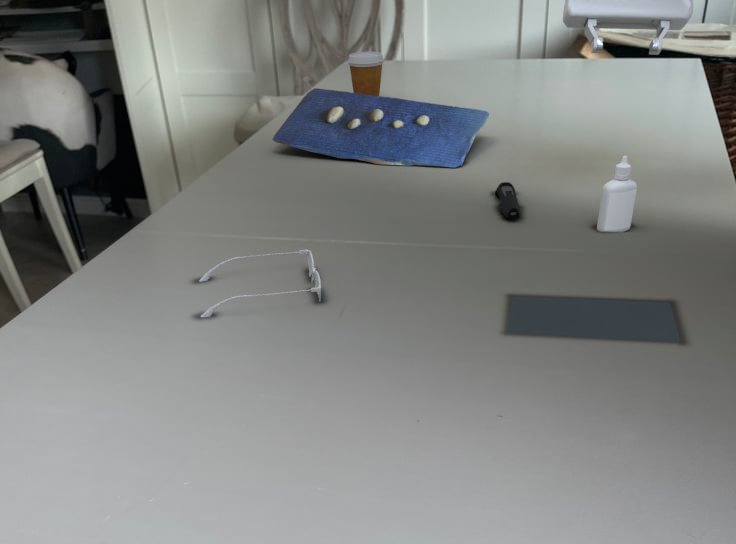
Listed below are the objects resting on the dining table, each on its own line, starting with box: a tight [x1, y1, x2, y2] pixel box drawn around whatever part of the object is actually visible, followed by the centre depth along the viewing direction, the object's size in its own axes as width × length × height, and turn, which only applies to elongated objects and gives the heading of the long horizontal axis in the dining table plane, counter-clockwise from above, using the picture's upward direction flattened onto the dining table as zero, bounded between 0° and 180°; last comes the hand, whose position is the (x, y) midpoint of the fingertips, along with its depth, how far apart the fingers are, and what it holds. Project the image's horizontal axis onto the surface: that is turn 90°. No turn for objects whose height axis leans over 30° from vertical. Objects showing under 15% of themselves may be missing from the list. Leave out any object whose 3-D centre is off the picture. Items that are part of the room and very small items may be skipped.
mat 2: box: [508, 296, 681, 343], centre depth 111 cm, size 22×12×1 cm, turn 79°
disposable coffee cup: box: [347, 51, 385, 96], centre depth 214 cm, size 10×10×12 cm
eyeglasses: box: [198, 249, 322, 318], centre depth 122 cm, size 15×18×4 cm
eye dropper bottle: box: [596, 155, 638, 233], centre depth 134 cm, size 4×6×12 cm
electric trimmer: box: [494, 181, 521, 219], centre depth 148 cm, size 4×16×3 cm, turn 177°
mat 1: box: [272, 87, 490, 169], centre depth 184 cm, size 45×27×12 cm, turn 69°
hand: (626, 52), depth 130 cm, fingers open, 8 cm apart
